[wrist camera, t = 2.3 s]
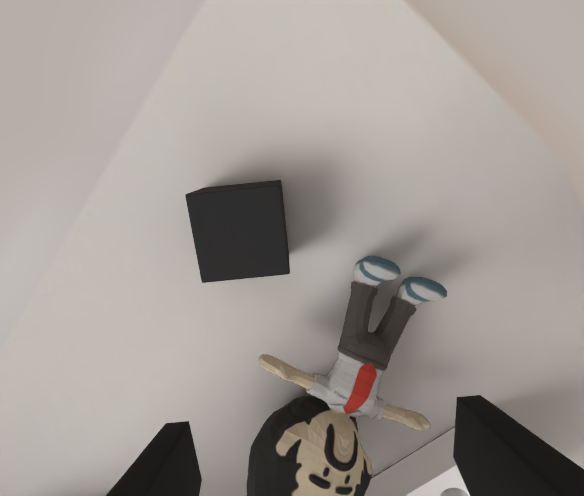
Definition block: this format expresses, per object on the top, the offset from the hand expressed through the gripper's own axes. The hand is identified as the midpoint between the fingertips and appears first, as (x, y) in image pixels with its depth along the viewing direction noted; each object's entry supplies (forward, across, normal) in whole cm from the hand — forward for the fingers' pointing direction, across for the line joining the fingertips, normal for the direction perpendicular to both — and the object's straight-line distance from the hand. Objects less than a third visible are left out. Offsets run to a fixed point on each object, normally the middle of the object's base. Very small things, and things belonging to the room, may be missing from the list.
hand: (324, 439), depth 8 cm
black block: (+10, +3, -4) cm, 11 cm away
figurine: (+10, -1, +5) cm, 11 cm away
